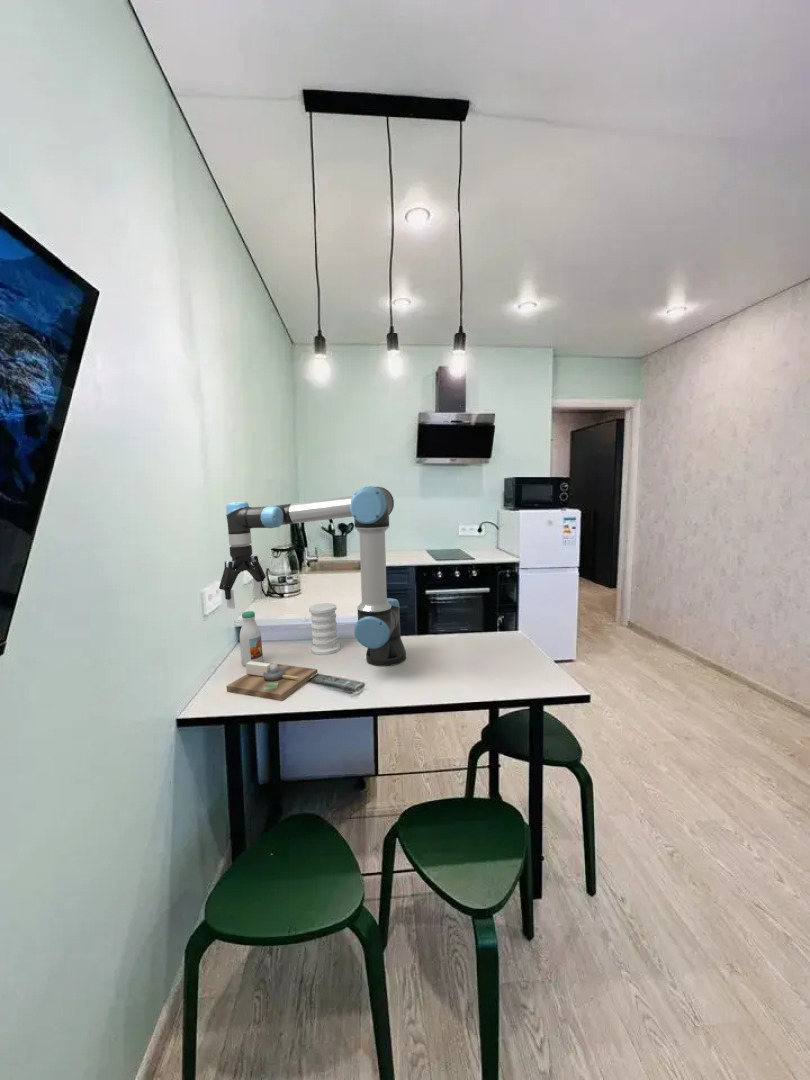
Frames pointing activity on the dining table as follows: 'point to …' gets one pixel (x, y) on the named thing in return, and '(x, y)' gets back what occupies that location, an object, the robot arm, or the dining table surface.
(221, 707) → the dining table surface
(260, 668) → the tuning dial
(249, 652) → the milk bottle
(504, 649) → the dining table surface
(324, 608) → the decorative container
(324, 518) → the robot arm
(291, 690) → the board
